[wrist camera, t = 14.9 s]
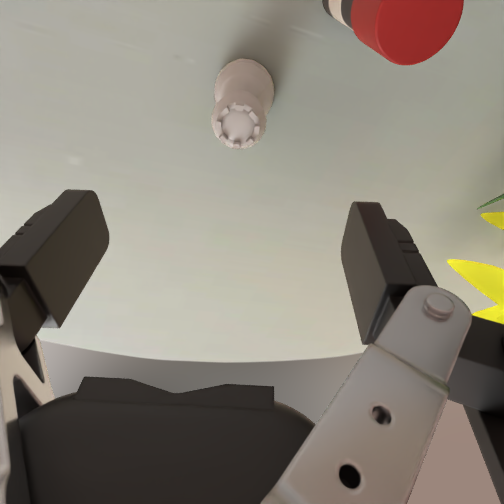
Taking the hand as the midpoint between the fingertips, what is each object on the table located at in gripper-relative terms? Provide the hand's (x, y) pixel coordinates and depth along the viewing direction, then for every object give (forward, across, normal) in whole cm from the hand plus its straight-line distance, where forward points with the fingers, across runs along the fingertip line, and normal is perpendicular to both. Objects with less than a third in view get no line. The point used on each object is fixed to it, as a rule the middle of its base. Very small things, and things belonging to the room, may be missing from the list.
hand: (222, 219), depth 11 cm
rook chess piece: (+18, 0, +1) cm, 18 cm away
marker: (+18, -6, -5) cm, 20 cm away
